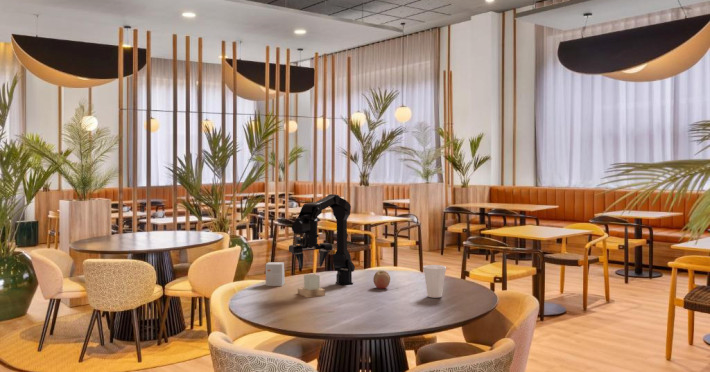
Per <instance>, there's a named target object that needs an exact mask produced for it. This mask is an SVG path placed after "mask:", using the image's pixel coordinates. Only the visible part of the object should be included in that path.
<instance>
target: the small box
mask: <svg viewBox="0 0 710 372" xmlns="http://www.w3.org/2000/svg"><path fill="white" fill-rule="evenodd" d="M284 285H285V262H283V261H282V262H280V261H277V262H276V261H275V262H273V261H272V262H271V261H269V262H266V264H265V286H266V287H283V286H284Z"/></svg>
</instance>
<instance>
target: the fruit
mask: <svg viewBox="0 0 710 372" xmlns="http://www.w3.org/2000/svg"><path fill="white" fill-rule="evenodd" d="M372 281H373V283H374V286H375V288H377V289H379V290H382V289H386V288H388V287H389V285H390V282H391V275H390V274H389V272H387V271H386V270H377V271H376V272H375V273H374V275H373V279H372Z"/></svg>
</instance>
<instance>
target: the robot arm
mask: <svg viewBox="0 0 710 372" xmlns="http://www.w3.org/2000/svg"><path fill="white" fill-rule="evenodd" d="M328 208H330V209H331V210H332V215H333V217H334V218H335V220H336V251H335V253H333V254H332V266H333V269H334V272H335V271H336V272H337V273H336V274H335V275H336V281H335V284H338V285H340V286H344V285H345V286H346V285H347V286H348V285H353V284H354V282H352V281H353V280H352V279H353V278H352V277H353V275H352V274H353V273H352V272H355V268H356V266H355V264H354V263H353V261H352V256H351V254H350V252H349V251H348V219H349V217H350V215H351V208H352V206H351V204H350V202H349V201H348V200H346V199H344V198H342V197H341V196H340V195H339V194H333V193H332V194H328V195H327V196H324V197H322V198H320V199H319V200H316V201H314V202H306V203H304V204H303V205H302V207H301V209H300V212H299V213H298V216H297V217H296V218H295V221H294V222H292V225H291V232H292V233H293V234H295V235H302V237H301V236H295V239H294V242H295V244H292V245H289V247H288V251H289V253H291V254H292V255H294V256H295V258H296V259H297V261H298V265H299V268H300V269H303V266H304V253H302V252H303V251H314V250H315V251H316V250H318V252H319V259H318V260H319V267H322V266H323V264H324V262H325V259H326V258H327V255H328V254H329V253H331V252H330V251H333V244H331V243H329V242H321V243H318V238H319V235H320V234H318V222H320V221H321V220H320V218H319V216H320V215H321V214H322V212H323V210H325V209H328Z"/></svg>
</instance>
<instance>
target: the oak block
mask: <svg viewBox="0 0 710 372" xmlns="http://www.w3.org/2000/svg"><path fill="white" fill-rule="evenodd" d="M297 295H300V296H302V297H303V298H307V299H308V298H314V297H323V296H326V289H324V288H322V287H320V289H317V290H307V289H304V287H298V288H297Z"/></svg>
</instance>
